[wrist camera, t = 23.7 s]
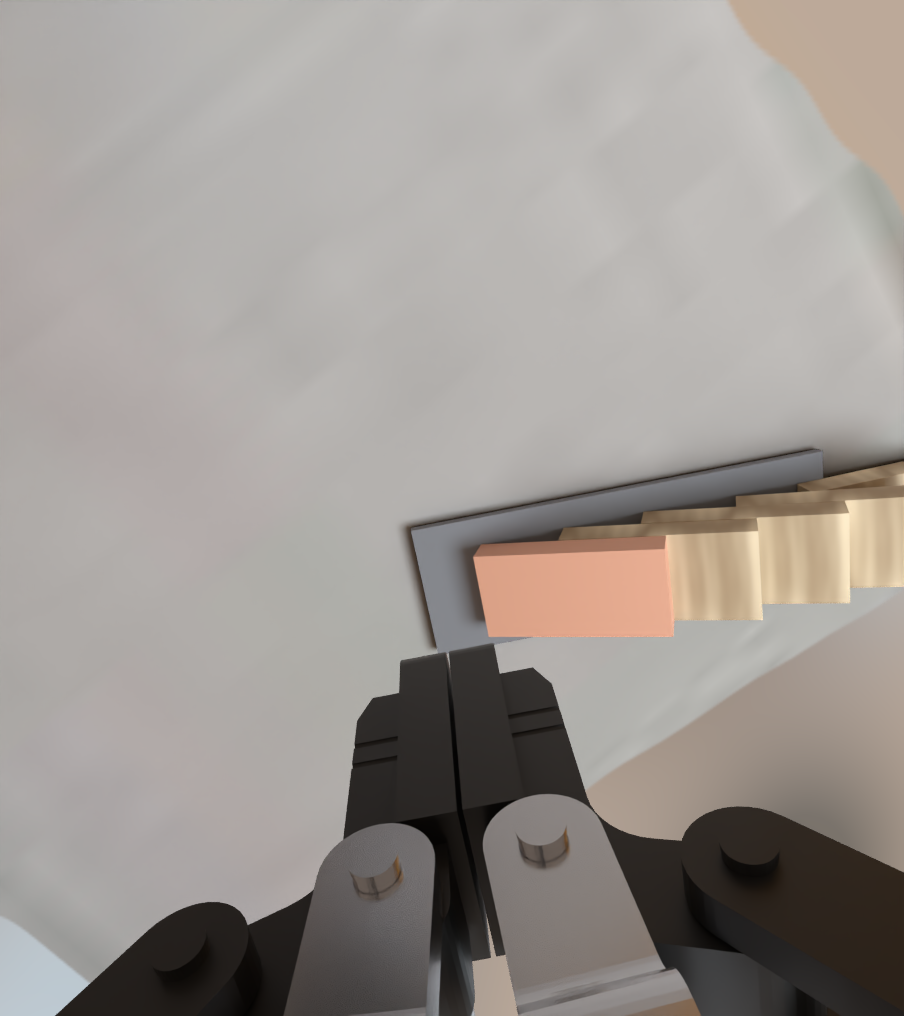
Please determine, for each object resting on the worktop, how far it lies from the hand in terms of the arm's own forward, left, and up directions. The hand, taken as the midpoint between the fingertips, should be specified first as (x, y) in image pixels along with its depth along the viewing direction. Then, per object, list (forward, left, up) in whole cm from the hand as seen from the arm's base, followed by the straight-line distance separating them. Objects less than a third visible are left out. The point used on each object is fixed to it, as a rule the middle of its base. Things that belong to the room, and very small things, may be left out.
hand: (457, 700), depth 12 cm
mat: (+13, -8, -29) cm, 33 cm away
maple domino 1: (+10, -9, -28) cm, 31 cm away
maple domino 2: (+14, -7, -28) cm, 32 cm away
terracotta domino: (+5, -11, -28) cm, 30 cm away
